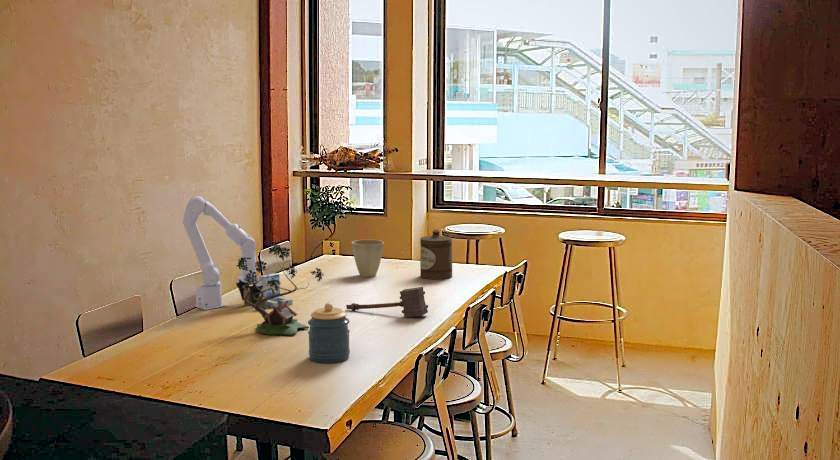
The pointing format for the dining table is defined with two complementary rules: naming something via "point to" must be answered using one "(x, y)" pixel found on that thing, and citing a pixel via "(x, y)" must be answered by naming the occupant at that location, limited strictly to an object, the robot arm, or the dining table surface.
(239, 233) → the robot arm
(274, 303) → the bore block
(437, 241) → the wooden container
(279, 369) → the dining table surface
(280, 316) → the bonsai tree
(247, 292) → the block
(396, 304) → the hammer
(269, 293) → the medicine box
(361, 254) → the plant pot
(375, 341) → the dining table surface
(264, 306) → the rubber stub
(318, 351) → the canister
